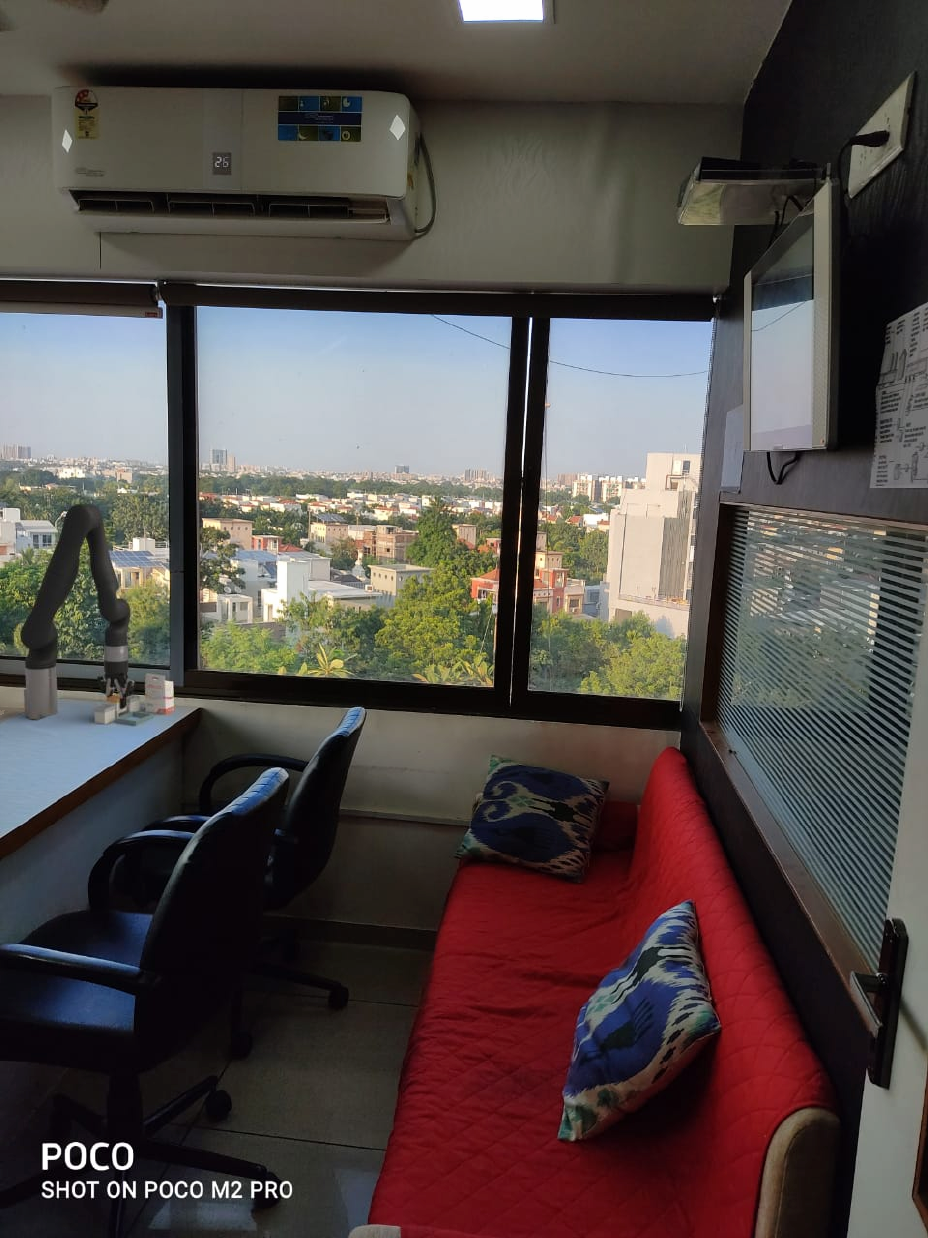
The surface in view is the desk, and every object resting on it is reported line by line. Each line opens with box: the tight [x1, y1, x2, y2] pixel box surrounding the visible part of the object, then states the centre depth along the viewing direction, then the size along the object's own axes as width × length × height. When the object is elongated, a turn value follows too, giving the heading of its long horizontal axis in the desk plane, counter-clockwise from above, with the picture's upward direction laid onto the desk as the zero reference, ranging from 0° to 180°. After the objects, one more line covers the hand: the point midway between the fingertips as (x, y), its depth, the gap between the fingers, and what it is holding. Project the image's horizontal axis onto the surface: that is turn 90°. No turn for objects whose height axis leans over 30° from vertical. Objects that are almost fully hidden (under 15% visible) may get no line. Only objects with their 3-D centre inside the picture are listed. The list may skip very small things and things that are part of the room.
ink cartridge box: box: [144, 673, 175, 715], centre depth 290 cm, size 9×5×15 cm, turn 73°
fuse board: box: [89, 694, 144, 726], centre depth 283 cm, size 7×19×6 cm, turn 165°
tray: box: [114, 711, 154, 727], centre depth 280 cm, size 8×9×2 cm
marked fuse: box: [106, 693, 126, 713], centre depth 283 cm, size 4×5×5 cm
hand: (116, 707), depth 283 cm, fingers closed on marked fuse, 4 cm apart
